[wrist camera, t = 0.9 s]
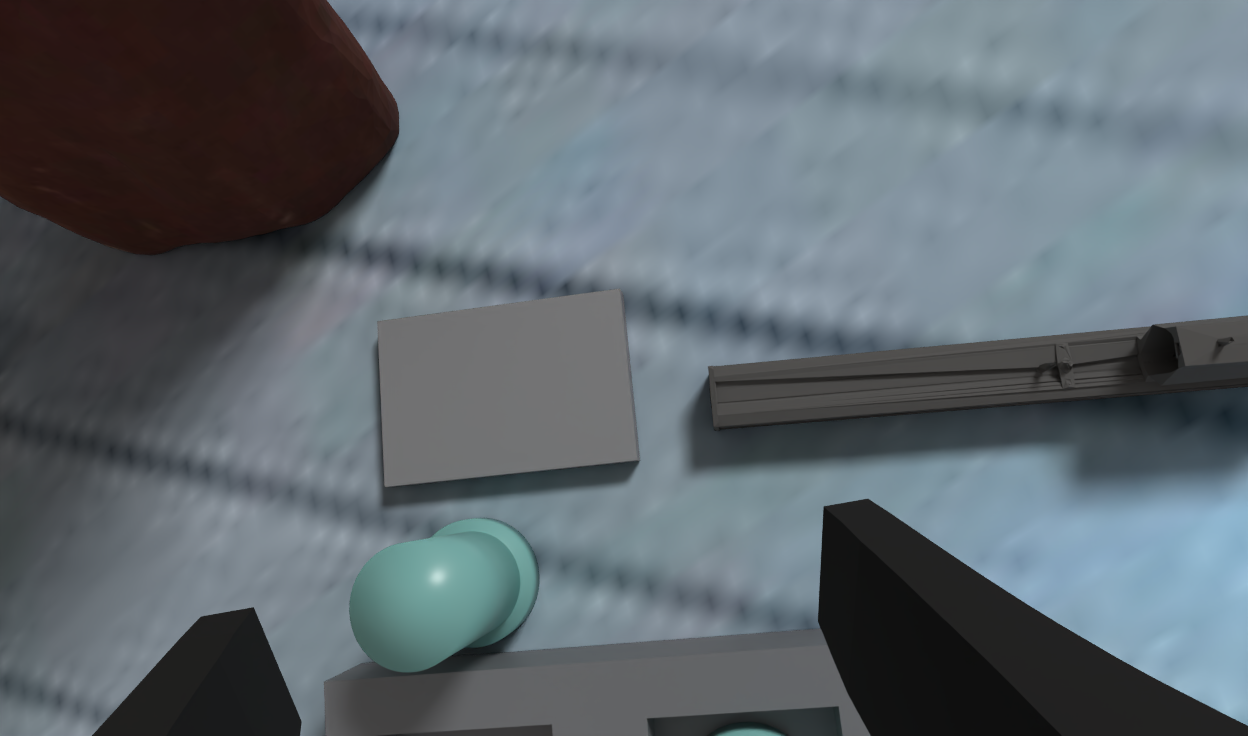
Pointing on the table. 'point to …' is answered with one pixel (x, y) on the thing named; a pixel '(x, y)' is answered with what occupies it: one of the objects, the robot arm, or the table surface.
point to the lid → (507, 390)
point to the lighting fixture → (984, 374)
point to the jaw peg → (443, 594)
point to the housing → (605, 691)
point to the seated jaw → (747, 730)
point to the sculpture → (185, 117)
